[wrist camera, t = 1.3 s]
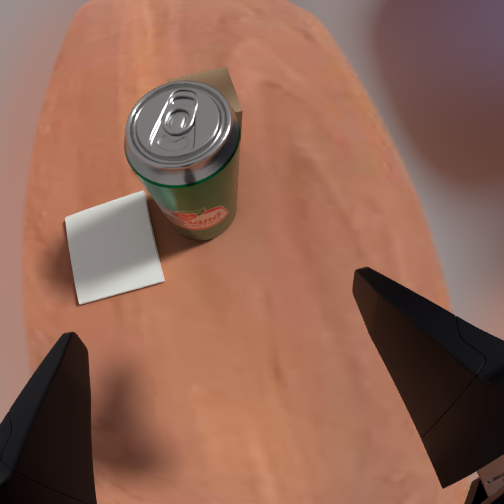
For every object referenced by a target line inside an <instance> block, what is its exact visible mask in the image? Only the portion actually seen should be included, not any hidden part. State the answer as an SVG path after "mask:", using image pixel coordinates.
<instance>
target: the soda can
mask: <svg viewBox="0 0 504 504" xmlns="http://www.w3.org/2000/svg"><path fill="white" fill-rule="evenodd" d="M240 136H241V129H240V123H239V120H238V117H237V115H236V113H235V111H234V109H233V108H232V107H231V106H230V105H229V103H228V102H227V100H226V99H225V97H224V96H223V95H222V94H221V93H220V92H219V91H218V90H216V89H215V88H213V87H211V86H210V85H207V84H205V83H201V82H197V81H189V80H186V81H175V82H170V83H166V84H164V85H161V86H159V87H157V88H155V89H153V90H151V91H150V92H148V93H147V94H145V95H144V96H143V97H142V98H141V99H140V100H139V101H138V102H137V103H136V105H135V106H134V107H133V109H132V111H131V112H130V115H129V117H128V120H127V124H126V135H125V144H124V148H125V155H126V158H127V161H128V163H129V165H130V166H131V168H132V170H133V171H134V172H135V174H136V175H137V177H138V178H139V180H140V181H141V182H142V184H143V185H144V187H145V188H146V189H147V191H148V192H149V194H150V195H151V197H152V198H153V199H154V201H155V202H156V203H157V205H158V206H159V208H160V209H161V210H162V212H163V213H164V215H165V216H166V217H167V219H168V220H169V221H170V223H171V224H172V226H173V227H174V228H175V229H176V230H177V231H178V232H179V233H180V234H181V235H183V236H185V237H187V238H190V239H193V240H208V239H212V238H215V237H217V236H219V235H220V234H222V233H223V232H224V231H226V230H227V229H228V227H229V226H230V225H231V223H232V222H233V220H234V217H235V214H236V209H237V189H238V171H239V153H240Z"/></svg>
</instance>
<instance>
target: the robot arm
mask: <svg viewBox="0 0 504 504" xmlns="http://www.w3.org/2000/svg"><path fill="white" fill-rule="evenodd" d="M353 295H354V298H355V300H356V303H357V305H358V308H359V310H360V312H361V315H362V317H363V320H364V322H365V325H366V327H367V330H368V332H369V335H370V337H371V339H372V341H373V342H374V344H375V346H376V348H377V350H378V352H379V354H380V356H381V358H382V360H383V362H384V364H385V365H386V367H387V369H388V371H389V373H390V375H391V377H392V379H393V381H394V383H395V385H396V387H397V389H398V391H399V393H400V395H401V397H402V399H403V401H404V404H405V406H406V408H407V410H408V412H409V414H410V416H411V418H412V420H413V422H414V425H415V427H416V429H417V431H418V433H419V435H420V438H422V439H421V440H422V442H423V444H424V447H425V449H426V451H427V453H428V456H429V458H430V460H431V463H432V465H433V467H434V470H435V472H436V474H437V477H438V479H439V481H440V484H441V486H442V488H443V489H444V488H446V487H448V486H450V485H452V484H454V483H456V482H458V481H460V480H461V479H463V478H465V477H467V476H469V475H471V474H473V473H474V472H476V471H477V473H478V475H479V477H478V478H477V479H475V480H474V481H472V483H471V486H470V489H469V492H468V495H467V498H466V501H465V503H464V504H504V341H503V340H501V339H499V338H497V337H495V336H493V335H491V334H489V333H487V332H485V331H483V330H481V329H479V328H477V327H475V326H473V325H472V324H470V323H468V322H466V321H464V320H462V319H461V318H459V317H458V316H456V317H455V315H454V314H452V313H450V312H449V311H447V310H445V309H444V308H442V307H440V306H438V305H437V304H435V303H433V302H431V301H429V300H428V299H426V298H424V297H422V296H421V295H419V294H417V293H415V292H413V291H412V290H410V289H408V288H406V287H404V286H403V285H401V284H399V283H397V282H395V281H393V280H392V279H390V278H388V277H386V276H384V275H382V274H380V273H379V272H377V271H375V270H373V269H371V268H369V267H363V268H359V269H357V270H355V273H354V280H353ZM0 504H97V501H96V493H95V484H94V473H93V459H92V441H91V389H90V376H89V358H88V350H87V348H86V346H85V345H84V343H83V342H82V341H81V339H80V338H79V337H78V335H77V334H76V333H75V332H68V333H64V334H62V336H61V337H60V338H59V340H58V341H57V342H56V344H55V345H54V346H53V348H52V349H51V350H50V352H49V353H48V354H47V356H46V357H45V358H44V360H43V361H42V363H41V364H40V365H39V367H38V368H37V370H36V371H35V372H34V374H33V375H32V377H31V378H30V380H29V381H28V383H27V384H26V386H25V387H24V389H23V390H22V391H21V393H20V395H19V396H18V398H17V399H16V400H15V402H14V404H13V405H12V407H11V408H10V410H9V412H8V413H7V415H6V416H5V418H4V419H3V421H2V422H1V424H0Z"/></svg>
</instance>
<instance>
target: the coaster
mask: <svg viewBox="0 0 504 504" xmlns="http://www.w3.org/2000/svg"><path fill="white" fill-rule="evenodd" d="M65 221H66V230H67V238H68V245H69V252H70V258H71V265H72V270H73V276H74V281H75V287H76V292H77V296H78V301H79V304H85V303H89V302H93V301H96V300H100V299H104V298H107V297H111V296H115V295H118V294H122V293H126V292H129V291H133V290H137V289H140V288H144V287H147V286H151V285H155V284H158V283H162V282H165V279H164V275H163V271H162V267H161V263H160V259H159V255H158V251H157V246H156V242H155V237H154V233H153V228H152V224H151V219H150V214H149V209H148V204H147V199H146V194H145V192H144V191H140V192H137V193H134V194H131V195H128V196H125V197H121V198H118V199H115V200H112V201H109V202H107V203H104V204H101V205H98V206H95V207H92V208H89V209H86V210H84V211H81V212H78V213H75V214H73V215H70V216H67V217H65Z"/></svg>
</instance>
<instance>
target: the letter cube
mask: <svg viewBox="0 0 504 504" xmlns="http://www.w3.org/2000/svg"><path fill="white" fill-rule="evenodd" d="M186 80H189V81H197V82H201V83H205V84H207V85H210V86H211V87H213V88H215V89H216V90H218V91H219V92H220V93H221V94H222V95H223V96H224V97H225V99H226V100H227V102H228V103H229V105H230V106H231V107H232V108H233V109H234V111H235V113H236V115H237V117H238V120H239V123H240V129H241V124H242V109H241V106H240V103H239V100H238V97H237V95H236V92H235V89H234V86H233V83H232V81H231V78H230V75H229V73H228V70H227V67H223V68H218V69H213V70H208V71H203V72H199V73H195V74H190V75H186V76H182V77H178V78H174V79H171V80H167V81H168V83H170V82H175V81H186ZM240 141H241V136H240Z"/></svg>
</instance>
